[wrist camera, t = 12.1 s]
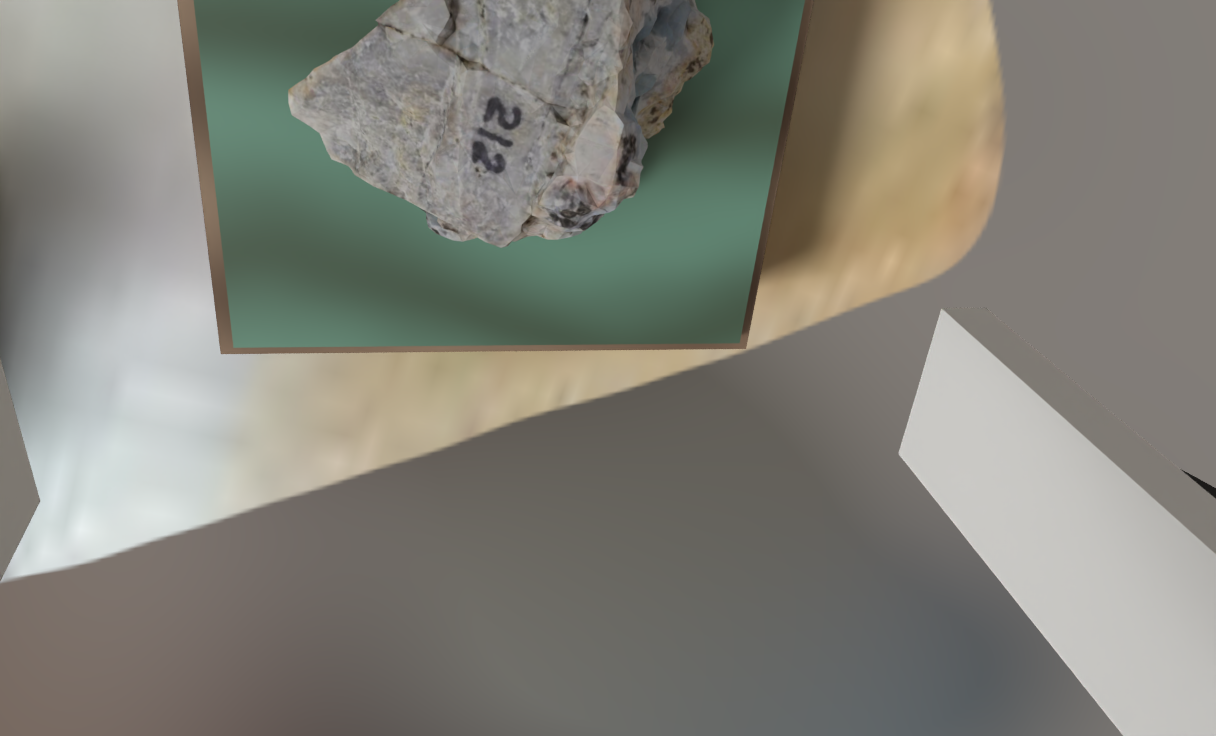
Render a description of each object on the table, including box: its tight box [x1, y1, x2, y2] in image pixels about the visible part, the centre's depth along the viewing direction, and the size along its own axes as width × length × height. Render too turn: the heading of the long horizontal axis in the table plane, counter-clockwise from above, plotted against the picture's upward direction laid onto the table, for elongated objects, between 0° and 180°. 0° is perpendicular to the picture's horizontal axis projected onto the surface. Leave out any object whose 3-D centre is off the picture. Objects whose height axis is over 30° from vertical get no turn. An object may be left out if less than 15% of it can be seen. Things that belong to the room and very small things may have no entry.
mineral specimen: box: [288, 0, 714, 248], centre depth 25 cm, size 10×8×10 cm
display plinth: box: [177, 0, 814, 354], centre depth 29 cm, size 18×18×5 cm
